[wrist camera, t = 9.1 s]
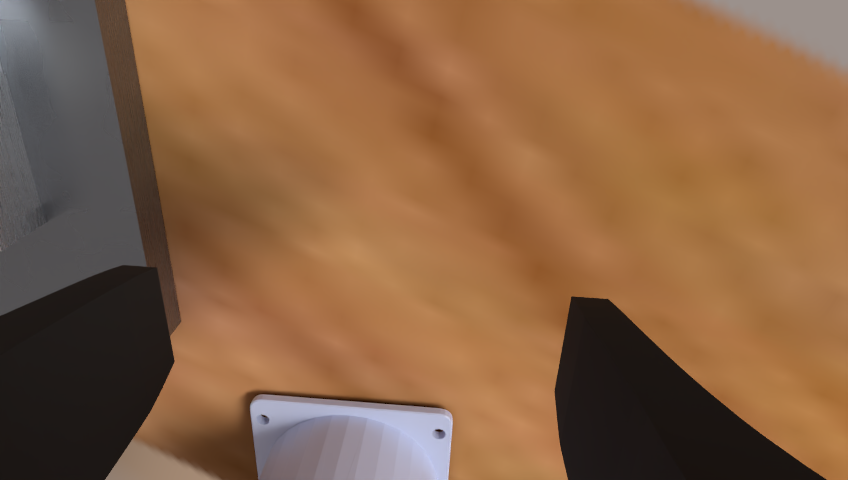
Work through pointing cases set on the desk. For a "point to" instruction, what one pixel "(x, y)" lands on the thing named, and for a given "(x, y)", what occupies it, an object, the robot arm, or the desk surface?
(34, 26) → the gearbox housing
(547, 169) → the desk surface
